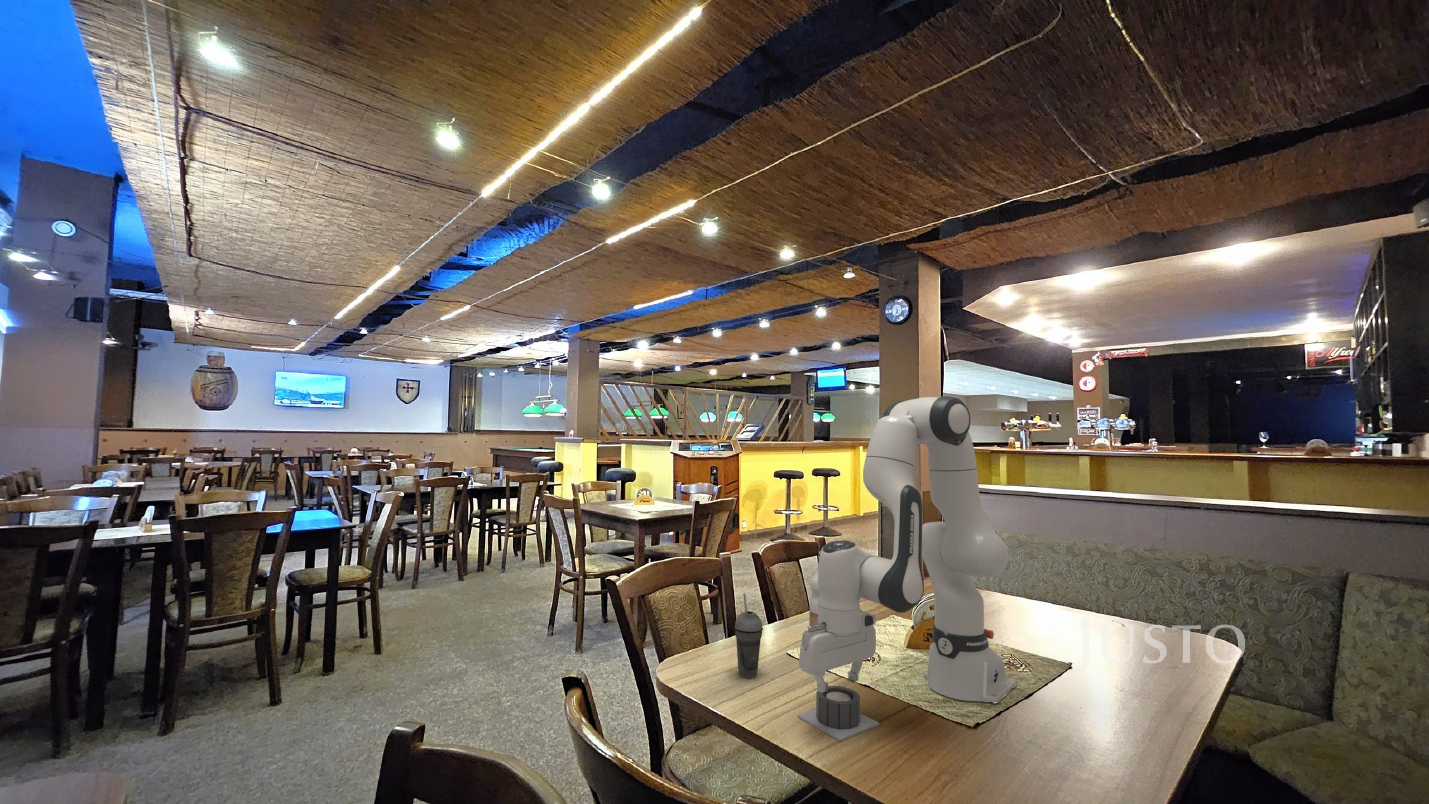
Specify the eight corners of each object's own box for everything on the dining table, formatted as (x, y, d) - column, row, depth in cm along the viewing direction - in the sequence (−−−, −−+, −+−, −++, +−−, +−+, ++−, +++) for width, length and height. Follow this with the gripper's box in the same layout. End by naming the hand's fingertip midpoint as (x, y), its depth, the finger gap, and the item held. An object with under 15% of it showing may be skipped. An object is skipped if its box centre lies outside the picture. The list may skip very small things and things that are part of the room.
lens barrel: (836, 703, 131) (836, 678, 132) (879, 725, 122) (879, 698, 122) (797, 716, 124) (797, 690, 125) (839, 741, 115) (840, 712, 115)
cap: (837, 711, 126) (837, 690, 127) (855, 720, 122) (855, 698, 123) (821, 717, 124) (821, 695, 124) (839, 726, 120) (839, 704, 120)
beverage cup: (760, 682, 142) (761, 598, 143) (730, 679, 143) (732, 596, 144) (763, 671, 149) (765, 591, 150) (735, 668, 150) (737, 589, 152)
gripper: (814, 631, 116) (813, 703, 115) (881, 615, 128) (881, 680, 127) (792, 623, 121) (791, 691, 120) (858, 608, 133) (858, 670, 132)
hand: (838, 685), depth 123 cm, fingers open, 8 cm apart
